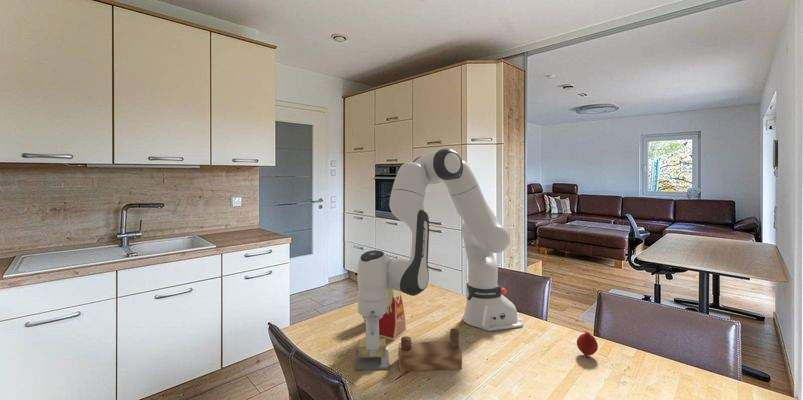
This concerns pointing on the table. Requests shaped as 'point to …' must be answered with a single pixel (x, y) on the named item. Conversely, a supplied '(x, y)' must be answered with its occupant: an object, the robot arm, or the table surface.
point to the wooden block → (364, 353)
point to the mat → (372, 362)
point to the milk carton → (393, 316)
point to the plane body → (430, 354)
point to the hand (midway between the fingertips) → (372, 349)
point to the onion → (587, 344)
